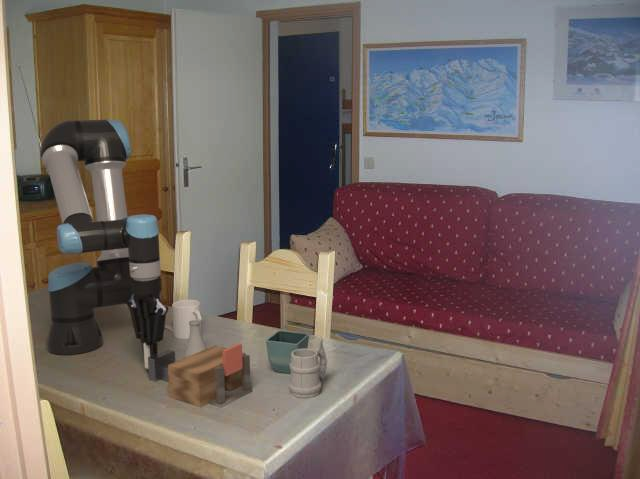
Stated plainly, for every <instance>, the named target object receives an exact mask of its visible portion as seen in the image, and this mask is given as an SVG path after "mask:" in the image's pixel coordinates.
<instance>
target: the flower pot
mask: <svg viewBox="0 0 640 479" xmlns="http://www.w3.org/2000/svg"><path fill="white" fill-rule="evenodd" d="M309 338H310V334H309V333H305V332H297V331H296V332H295V331H289V330H277V331H276V332H274V333H273V334H272V335H271V336H269V337H268V338H267V339H266V340H265V343H266V345H265V346H266V353H267V358H268V361H269V363H270V365H271V367H272V369H273V371H275V372H277V373H283V374H284V373H285V374H290V375H291V370H290V363H291V353H292V352H293V351H294V350H297V349H304V348H307V349H309V348H308V347H309Z"/></svg>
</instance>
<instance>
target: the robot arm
mask: <svg viewBox="0 0 640 479" xmlns="http://www.w3.org/2000/svg"><path fill="white" fill-rule="evenodd" d="M131 145H132V144H131V141H130V136H129V133H128V130H127V128H126V126H125V124H124V123H123V122H121V121H120V120H117V119H106V118H105V119H88V120H87V119H86V120H85V119H84V120H83V119H82V120H73V119H71V120H64V121H61V122H59V123H57V124H55V125H54V126H53V127H52V128H50V130H49V131H48V132H47V133H46V135H44V138H43V139H42V142H41V146H40V159H41V163H42V165H43V167H44V168H45V169H46V170H47V171H48V174H49V178H50V182H51V186H52V189H53V193H54V197H55V201H56V204H57V209H58V212H59V217H60V220H61V224H59V225H58V226H57V228H56V239H57V240H56V242H57V247H58V250H59V252H61V253H62V254H64V255H75V254H76V255H79V254H84V253H93V252H100V256H98V257H97V259H96V265H97V266H94V267H93V266H92V264H91V263H89V262H84V261H83V262H74V263H68V264H64V265H62V266H58V267H57V268H54V269H53V270H51V271H50V273H48V276H47V283H48V284H47V285H48V286H47V291H48V293H49V294H48V296H49V307H50V317H51V318H50V320H51V323H50V327H49V331H48V335H47V339H46V350H47V352H49V353H51V354H55V355H62V356H65V355H68V356H69V355H79V354H84V353H88V352H91V351H94V350H97V349H99V348H100V347H101V346H102V345H103V344H104V339H103V338H104V337H103V333H102V331H101V329H100V326H99V324H98V321H97V319H96V317H95V314H96V313H95V309H97V308H103V307H112V306H119V305H127V308H128V310H129V312H130V316H131V322H132V327H133V330H134V335H135V338H136V339H137V340H140V343H141V344H142V353H143V355H144V356H143V357H144V359H143V360H144V368H145V369H148V357H150V356H152V355H155V354H158V343H159V342H162V341H163V340H164V333H165V328H164V326H165V325H166V317H167V313H168V311H169V306H166V305H165V306H164V305H163V304H162V300H161V298H160V294H161V292H162V288H163V287H162V278H161V274H162V271H161V269H162V268H161V258H160V257H161V256H160V238H159V235H160V234H159V232H160V228H159V224H158V218H157V217H156V216H155V215H153V214H134V215H133V214H132V215H130V216H128V210H127V202H126V195H125V187H124V186H125V185H124V178H123V169H124V168H125V166H126V165H127V160H129V158H131V155H132V150H131V148H132V147H131ZM79 162H84V169H86V170H87V171H89V172H90V174H91V182H92V189H93V197H94V206H95V207H94V208H95V213H96V221H94V217H93V214H92V210H91V207H90V204H89V201H88V197H87V194H86V191H85V188H84V184H83V181H82V180H83V179H82V178H81V175H80V174H81V173H80V170H79V168H78V163H79ZM148 370H149V369H148Z"/></svg>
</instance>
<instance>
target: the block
mask: <svg viewBox="0 0 640 479" xmlns="http://www.w3.org/2000/svg"><path fill="white" fill-rule="evenodd" d="M227 348H228V347H224V346H221V345H220V346H219V345H212V346H210V347H207V349H205V350H203V351H201V352H198V353H196V354H193V355H191V356H188V357H186V358H184V359H183V358H181V359H179V360H177V361H176V360H175V362H174V363H172V364H169V365H168V376H169V383H168V389H169V390H168V391H169V398H171V399H173V400H177V401H180V402H183V403H186V404H188V405H189V404H190V405H193V406H196V407H199V408H202V407H204V406H206V405H208V404H209V405H212V406H215V407H218V408H223V407H225V406H227V405H229V404H230V403H232V402H234V401H236V400H238V399H240V398H242V397H245V396H246V395H248V394H250V393H252V392H253V388H251V386H252V385H251V358H250V355H249V354H246V352H243V351H242V363H243V369H241V370H238V371H236V372H234V373H232V374H230V375H228V376H224V367H223V355H222V350H224V349H227ZM226 390H228V392H226Z"/></svg>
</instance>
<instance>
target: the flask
mask: <svg viewBox="0 0 640 479" xmlns="http://www.w3.org/2000/svg"><path fill="white" fill-rule="evenodd" d="M200 322H201V323H202V320H201V321H200V320H191V321H189V325H190V335H189V339H187V343H186V346H185V349H184V353H183V357H182V359H184V358H186V357H188V356H191V355H193V354H196V353H198V352H201V351H203V350H205V349H208V347H207V344H206V342H205V340H204V338H203V335H202V330H201V331H200Z"/></svg>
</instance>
